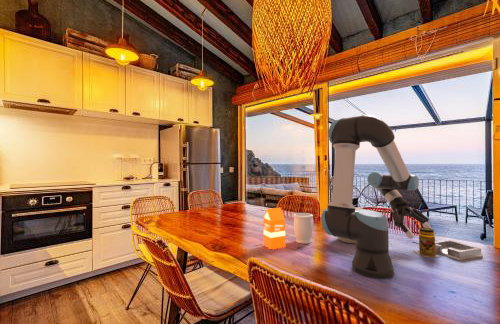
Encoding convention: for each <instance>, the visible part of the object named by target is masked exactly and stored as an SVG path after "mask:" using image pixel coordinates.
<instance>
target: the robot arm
mask: <svg viewBox="0 0 500 324" xmlns="http://www.w3.org/2000/svg"><path fill="white" fill-rule="evenodd" d="M328 127H329V128H328V132H327V133H328V135H327V136H328V140H329V142H330V143H331V144H332V147H333V148H334V150H335V155H334V167H333V179H332V180H333V181H332V191H331V192H332V193H331V201H330V202H329V203H328V204H327V207H326V208H324V209H323V210H322V213H321V216H320V222H321V223H320V224H321V227H322V229H323V231H324V232H325V234H328V235H330V236H333V237H335V238H338V237H341V238H345V239H349V240H354V241H356V243H355V253H354V256H353V259H352V262H351V269H352V270H353V272H354V273H357V274H358V275H360V276H363V277H366V278H371V279H375V280H377V279H378V280H386V279H387V280H388V279H391V278H394V275H395V267H394V265H393V262H392V258H391V256H390V252H389V250H390V249H389V221H388V217H387V216H386V215H385V214H383V213H381V212H378V211H376V210H371V209H364V208H362V209H361V210H357V211H356V212H355V207H356V206H354V204H353V194H354V180H355V179H354V178H355V164H356V151H357V150H358V149H360V146H361V145H360V143H364V142H367V143H370V144H371V146H372V147H374V148H376V150H377V152H378V154H379V156H380V158H381V160H382V161H383V163H384V165H385V167H386V169H387V171H388V173H389V174H386V173H385V174H384V173H379V172H378V171H377V172H376V171H373V172H371V173H369V174H368V176H367V183H368V184H370V186H371V187H373V188H374V189H376V190H378V191H379V192H380V194H381V195H382V196H383V198H384V199H385V200H386V201H387V203H388V204H389V206H390V207H391V209H390V210H389V211H390V213H391V215H392V220H393V223H394V226H395V227H397V228H398V229H401V230H402V232H403V233H405V235H406V236H407V238H408V239H409V240H412V239H413V238H414V237H415V235H414V234H413V232H412V231H411V229H410V228H409V226H408V225H407V224H406V223H405V217H409V218H412V219H414V220H416V221H417V222H419V223H421V225H422V228H431V229H433V227H432V226H431V224H429V221H430V218H428V217H427V216H426V215H424V214H423V213H422V212H421V211H419V210H418V209H416V207H414V205H410V207H409V206H408V203H407V201H406V200H405V198H404V197H403V196H402V194H401V193H400V192H399V191H416V190H418V188H419V184H420V182H419V177H418V175H415V174H410V172H409V171H408V170H409V169H408V168H407V166H406V164H405V162H404V160H403V157H402V154H401V153H400V150H399V149H398V146H397V144H396V142H395V138H396V137H395V134H394V131H393V130H392V129H391V127H390V126H389V125H388V123H386V122H385V121H383V120H382V119H381V118H379V117H377V116H374V115H372V114H371V115H370V114H362V115H358V116H357V115H356V116H351V117H342V118H339V119H336V120H333V122H331V124H330V125H329V126H328ZM398 190H399V191H398ZM352 204H353V205H352ZM363 209H364V210H363ZM404 223H405V224H404ZM436 234H437V232H435V230H434V234H433V235H434V236H435V235H436Z"/></svg>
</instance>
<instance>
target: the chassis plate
mask: <svg viewBox="0 0 500 324" xmlns="http://www.w3.org/2000/svg"><path fill="white" fill-rule="evenodd" d="M435 254H437V255H441V256H444V257H448V258H450V259H454V260H456V261H463V260H470V259H475V258H480V257H481V258H482V257H483V256H484V255H483V253H482V248H481V247H477V246H474V245H469V244H466V243H461V242H458V241H454V240H452V239H447V240H440V241H435Z"/></svg>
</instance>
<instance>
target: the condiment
mask: <svg viewBox="0 0 500 324" xmlns="http://www.w3.org/2000/svg"><path fill="white" fill-rule="evenodd" d="M434 231H435V230H434V229H433V228H432V229H431V228H424V227H420V228H419V233H418V234H419V235H418V248H419V249H418V250H413V253H417V254H418V255H420V256H422V257H424V258H439V257H441V256H442V255H441V256H440V254H437V253H435V242H436V236H435V235H433V234H434Z"/></svg>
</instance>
